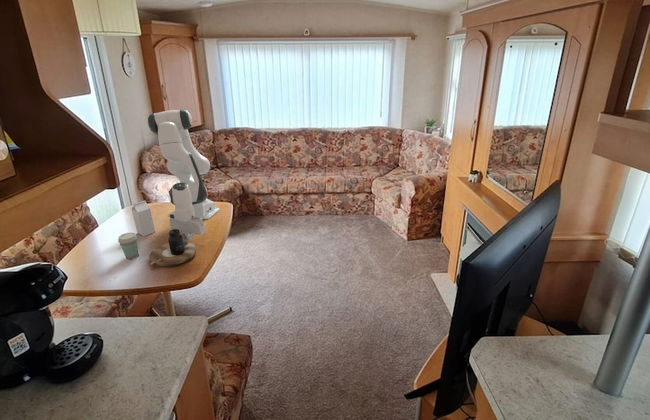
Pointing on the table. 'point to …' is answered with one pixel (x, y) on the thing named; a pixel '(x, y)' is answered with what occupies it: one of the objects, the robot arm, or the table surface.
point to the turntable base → (153, 265)
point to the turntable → (165, 257)
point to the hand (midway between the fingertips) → (190, 239)
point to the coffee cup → (129, 245)
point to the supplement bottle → (176, 242)
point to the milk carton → (143, 218)
